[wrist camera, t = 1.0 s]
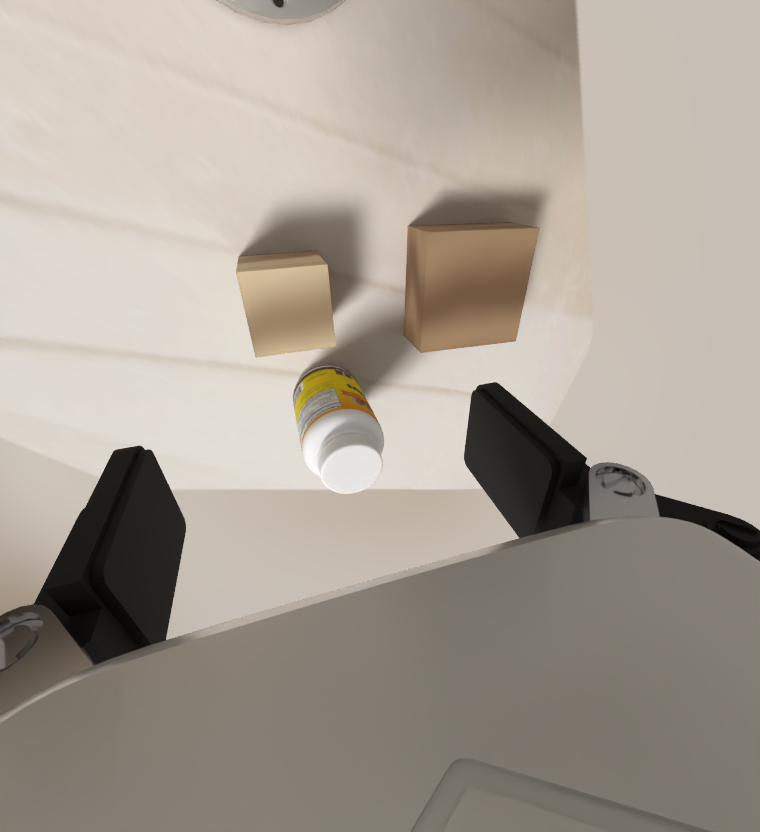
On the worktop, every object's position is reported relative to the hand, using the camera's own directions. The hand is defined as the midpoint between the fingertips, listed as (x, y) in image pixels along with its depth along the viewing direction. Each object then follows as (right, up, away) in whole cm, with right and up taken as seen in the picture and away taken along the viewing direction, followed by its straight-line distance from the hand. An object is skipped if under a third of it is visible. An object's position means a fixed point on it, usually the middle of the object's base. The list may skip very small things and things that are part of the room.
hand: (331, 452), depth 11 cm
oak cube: (-5, +10, +15) cm, 19 cm away
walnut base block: (+7, +12, +18) cm, 23 cm away
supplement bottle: (-3, +3, +20) cm, 21 cm away
